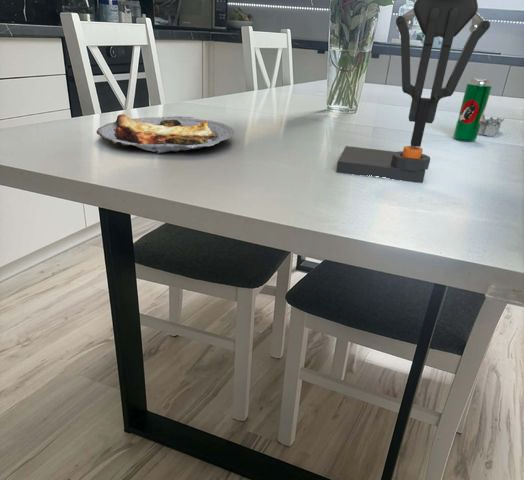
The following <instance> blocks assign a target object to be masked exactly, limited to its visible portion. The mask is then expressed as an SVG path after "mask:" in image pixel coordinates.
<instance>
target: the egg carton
mask: <svg viewBox="0 0 524 480" xmlns="http://www.w3.org/2000/svg"><path fill="white" fill-rule="evenodd" d="M485 117H486V116H485V114H484V115H483V119H482V122H481V125H480V129H479V132H478V135H482V136H487V137H495V135H497V134H498V133H499V132H500V128H501V125H502V123H503V122H504V121H505V120H506V119H505V118H506V117H504V118H501V117H497V118H493V116H491V117H490V118H487V119H486V118H485Z"/></svg>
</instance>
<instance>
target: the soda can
mask: <svg viewBox="0 0 524 480" xmlns="http://www.w3.org/2000/svg"><path fill="white" fill-rule="evenodd" d="M492 81H493V80H491V79H488V78H480V77H470V79H469V81H468V83H466V86H465V90H464V95H463V98H462V101H461V105H460V109H459V113H458V117H457V121H456V124H455V127H454V131H453V138H454V140H457V141H460V142H471V143H472V142H474V141H475V140H477V139H478V135H479V134H478V132H479V129H480V125H481V122H482V119H483V115H485V111H486V107H487V105H488V101H489V98H490V94H491V92H492V88H493V86H492Z"/></svg>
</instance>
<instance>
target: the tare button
mask: <svg viewBox="0 0 524 480" xmlns="http://www.w3.org/2000/svg"><path fill="white" fill-rule="evenodd" d="M402 151H403V153H402V156H403V157H407V158H414V159H421V155H422V154H423V148H422V147H421V146H420V147H417V146H411V145H405V146H403V149H402Z"/></svg>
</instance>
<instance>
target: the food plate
mask: <svg viewBox="0 0 524 480" xmlns="http://www.w3.org/2000/svg"><path fill="white" fill-rule="evenodd" d="M96 134H97V135H99V136H100V137H101V139H102V140H105V141H109V144H111V143H112V144H114V145H115V144H117V143H120V144H121V145H122V146H130V145H131V146H135V147H137V148H139V149H142V150H144V151H148V152H154V153H155V152H157V154H160V153H167V152H179V151H187V150H197V149H202V148H205V147H206V148H208V147H212V146H214V145H217V144H220V142H223V141H225V140H230V138H231V137H233V136H234V135H235V128H234V127H232V126H229V125H228V124H226V123H223V122H220V121H214V120H209V119H200V118H198V117H197V118H196V117H195V118H194V117H191V116H160V117H159V116H158V117H153V116H152V117H137V118H136V117H135V118H131V117H130V116H129V115H127V114H123V113H122V114H118V115H117V116H116V119H115V121H114V122H108V123H106V124H104V125H102V126H100V127H98V128H97V129H96Z"/></svg>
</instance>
